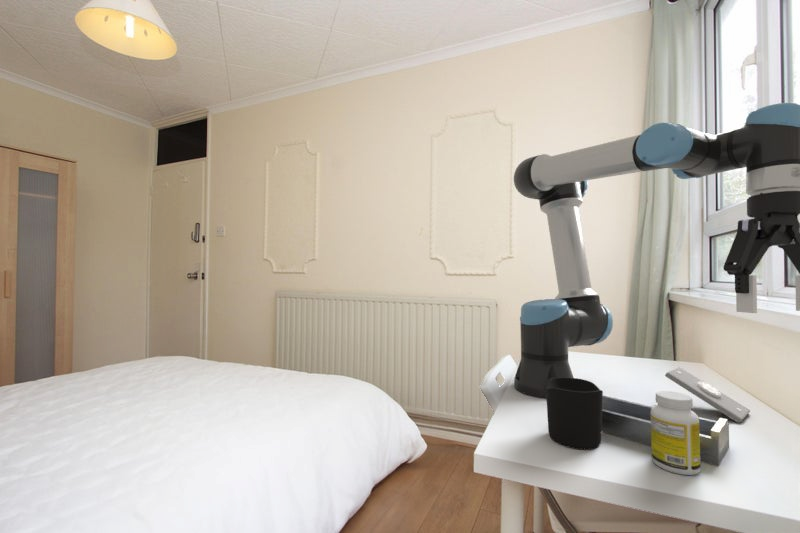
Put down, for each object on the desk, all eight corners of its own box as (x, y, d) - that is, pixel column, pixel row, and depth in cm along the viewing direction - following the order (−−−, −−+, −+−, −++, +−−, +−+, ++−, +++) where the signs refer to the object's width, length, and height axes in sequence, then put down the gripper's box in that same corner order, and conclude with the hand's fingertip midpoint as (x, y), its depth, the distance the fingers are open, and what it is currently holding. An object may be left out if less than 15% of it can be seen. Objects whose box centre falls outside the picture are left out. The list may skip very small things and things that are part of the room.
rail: (581, 425, 74) (580, 400, 74) (600, 413, 80) (600, 390, 81) (718, 466, 58) (717, 433, 58) (729, 446, 65) (728, 417, 65)
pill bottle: (681, 457, 61) (680, 389, 61) (711, 477, 55) (709, 402, 55) (642, 456, 61) (641, 388, 62) (668, 476, 55) (667, 401, 55)
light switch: (745, 416, 74) (669, 369, 85) (727, 437, 77) (655, 388, 87) (753, 407, 80) (681, 363, 90) (736, 427, 82) (667, 382, 92)
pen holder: (612, 441, 67) (611, 385, 67) (588, 457, 61) (587, 395, 61) (562, 425, 74) (561, 374, 75) (536, 437, 68) (535, 383, 69)
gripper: (742, 185, 61) (743, 315, 60) (856, 192, 65) (858, 312, 65) (697, 194, 68) (698, 310, 68) (802, 200, 73) (804, 308, 72)
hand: (777, 312), depth 66 cm, fingers open, 13 cm apart
